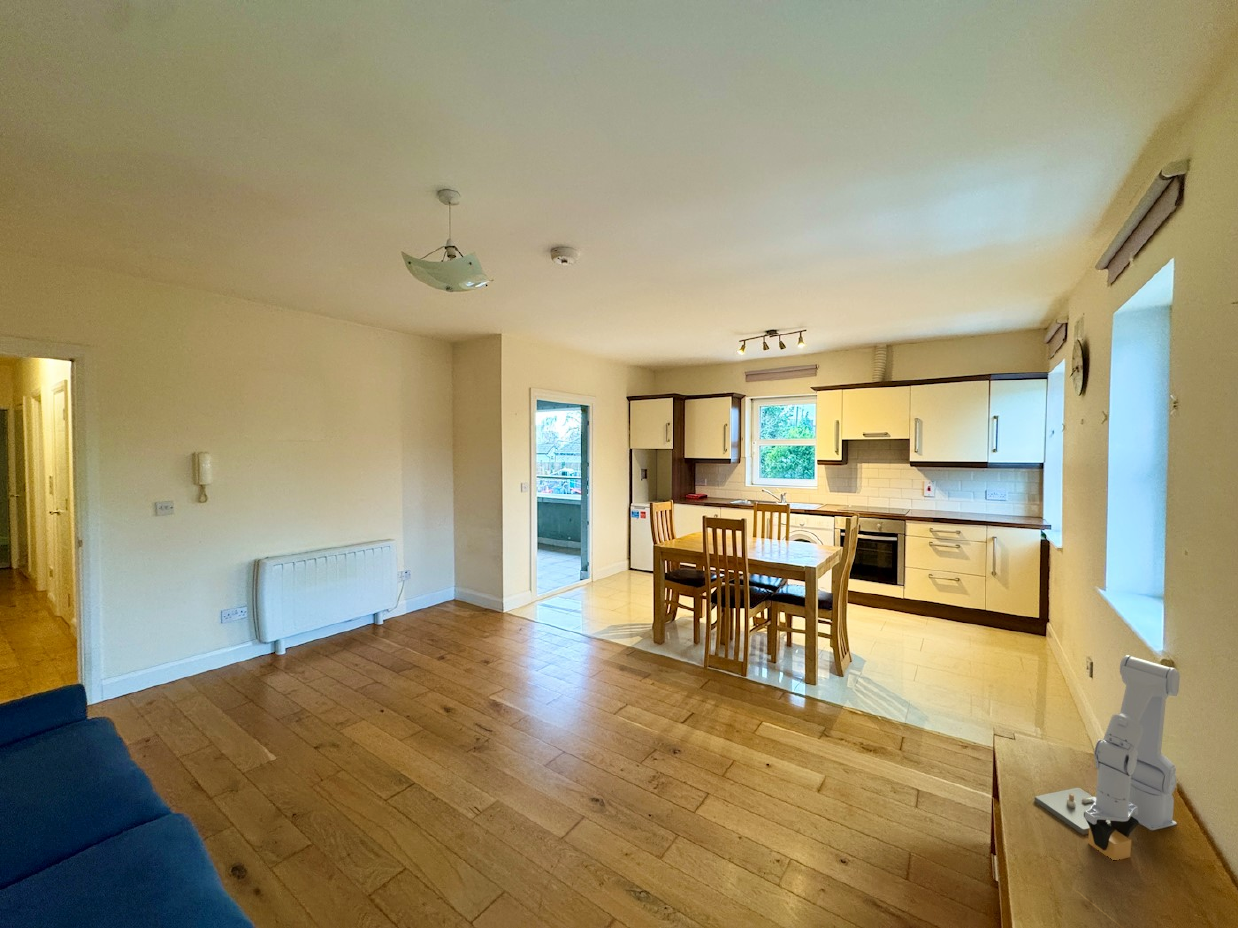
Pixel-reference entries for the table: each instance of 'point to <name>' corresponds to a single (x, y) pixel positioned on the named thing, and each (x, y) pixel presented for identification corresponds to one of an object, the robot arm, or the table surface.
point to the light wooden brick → (1114, 846)
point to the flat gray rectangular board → (1069, 807)
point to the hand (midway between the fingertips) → (1109, 844)
